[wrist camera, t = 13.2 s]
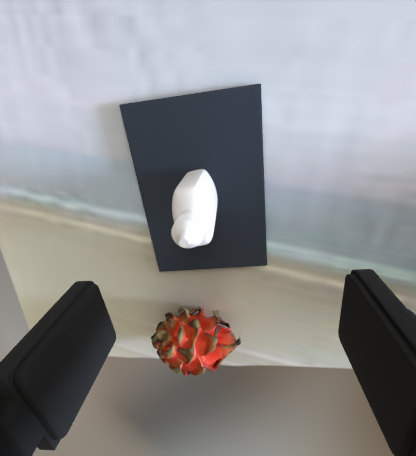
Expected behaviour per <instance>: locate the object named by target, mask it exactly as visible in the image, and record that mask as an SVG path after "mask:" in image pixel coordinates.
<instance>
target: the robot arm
mask: <svg viewBox="0 0 416 456" xmlns="http://www.w3.org/2000/svg"><path fill="white" fill-rule="evenodd" d="M338 333H339V338H340V341H341V344H342V346H343V348H344V350H345V352H346V355H347V357H348V359H349V361H350V363H351V365H352V368H353V370H354V372H355V374H356V376H357V378H358V381H359V382H360V385H361V387H362V389H363V391H364V394H365V396H366V398H367V400H368V402H369V404H370V406H371V409H372V411H373V413H374V415H375V417H376V420H377V422H378V424H379V426H380V428H381V430H382V432H383V434H384V437H385V439H386V441H387V443H388V446H389V448H390V450H391V451H392V453H393V454H394V455H395V456H416V315H415V314H414V313H413V312H411V311H410V310H409V309H407V308H406V307H405V306H404V305H403V304H402V303H401V301H400V300H399V299H398V298H397V297H396V296H395V295H394V293H393V292H392V291H391V290H390V289H389V288H388V287H387V285H386V284H385V283H384V282H383V281H382V280H381V279H380V277H379V276H378V275H377V274H376V273H375V272H374V271H373V270H372V269H362V270H352V271H351V274H347V275H346V278H345V285H344V292H343V300H342V307H341V315H340V322H339V330H338ZM115 339H116V333H115V330H114V327H113V324H112V322H111V319H110V317H109V314H108V311H107V309H106V306H105V303H104V301H103V298H102V295H101V293H100V290H99V287H98V286H97V285H96V284H94V282H92V281H78V282H75V283H74V284H73V285H72V286H71V287H70V288H69V289H68V290H67V292H66V293H65V294H64V295H63V296H62V297H61V298H60V299H59V300H58V301H57V302H56V303H55V304H54V305H53V307H52V308H51V309H50V310H49V311H48V312H47V313H46V314H45V315H44V316H43V317H42V318H41V319H40V320H39V321H38V323H37V324H36V325H35V326H34V327H33V328H32V329H31V330H30V331H29V332H28V333H27V334H26V336H24V338H23V339H22V340H21V341H20V342H19V343H18V344H17V345H16V346H15V347H14V348H13V349H12V351H10V353H9V354H8V355H7V356H6V357H5V358H4V359H3V360H2V361H1V362H0V456H32V454H33V453H34V451H35V449H36V448H37V447H38V448H39V449H41V450H55V449H56V447H57V445H58V443H59V442H60V440H61V439H62V438H63V437H64V436H65V435H66V434H67V432H68V431H69V429H70V427H71V425H72V423H73V421H74V420H75V418H76V415H77V414H78V412H79V410H80V408H81V406H82V404H83V402H84V400H85V398H86V396H87V394H88V393H89V391H90V389H91V387H92V385H93V383H94V381H95V379H96V377H97V375H98V373H99V371H100V369H101V368H102V366H103V364H104V362H105V360H106V358H107V356H108V354H109V352H110V350H111V348H112V347H113V345H114V343H115Z"/></svg>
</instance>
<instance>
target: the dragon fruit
mask: <svg viewBox="0 0 416 456" xmlns="http://www.w3.org/2000/svg"><path fill="white" fill-rule="evenodd" d="M181 310H184V312H183V313H181V315H180V317H177V316H176V315H175V314H173V313H167V314H165V316H166V321H163V322H160V323H159V324H158V326H157V328H156V333H155V334H154V335H153V336H152V337H151V339H152V344H153V347H154V348H155V349H158V350H157V354H158V355H159V357H160V359H161V360H162V361H163V362H164V363H167V362H168V363H169V367H170V368H171V369H172V370H173V371H175V372H176V373H181V372H183V374H184V375H188V374H190V373H191V374H193V375H200V374H203V373H204V372H205V370H207V371H215V370H216V369H217V368H218V366H219V365H220V363H221V362H222V361H223V359H224V358H226V357H227V355H228V354H229V353H231V352H232V351H233V350H234V349H235V348H236V347H237V346H238V345H239V344H240V343H241V339H240V338H238V340H237V341H236V339H235V336H234V334H232V333H231V331H232V329H231V327H230V325H229V324H228V323H225V322H224V321H222V320H221V317H220V316H219V313H218V312H219V311H212V312H213V314H214V316H212V317H210V318H205V317H204V314H203V313H204V310H203V308H200V307H198V308H194V309H192V311H191V312H189V311H188V309H186V308H184V307H181V308H180V309H179V312H180V311H181ZM196 311H199V312H198V313H197V314H195V315H192V314H193V313H195V312H196ZM219 321H221V322H219ZM218 322H219V323H220V324H222V325H225V326H227V327H228V328H224V327H221V326H219V325H218ZM239 337H240V336H239Z"/></svg>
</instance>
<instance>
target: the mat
mask: <svg viewBox="0 0 416 456" xmlns="http://www.w3.org/2000/svg"><path fill="white" fill-rule="evenodd" d="M120 109H121V113H122V118H123V122H124V126H125V130H126V134H127V138H128V142H129V147H130V151H131V155H132V159H133V163H134V167H135V171H136V176H137V180H138V184H139V188H140V192H141V196H142V201H143V205H144V209H145V213H146V217H147V221H148V225H149V230H150V234H151V238H152V242H153V246H154V250H155V254H156V259H157V263H158V267H159V271H160V272H161V271H177V270H194V269H211V268H227V267H244V266H260V265H267V254H266V224H265V194H264V165H263V135H262V105H261V84H255V85H249V86H242V87H235V88H229V89H222V90H215V91H209V92H202V93H195V94H189V95H182V96H175V97H169V98H162V99H155V100H149V101H142V102H135V103H129V104H122V105H120ZM199 169H204V170H206V171H207V172H208V174H209V175H210V177H211V178H212V180H213V182H214V185H215V188H216V192H217V200H218V202H217V212H216V220H215V227H214V233H213V237H212V240H211V241H210V243H208V244H206V245H202V246H196V247H193V248H183V247H180V246H179V245H177V244H176V243H175V242H174V240H173V239H172V236H171V229H172V227H173V225H174V220H173V214H172V200H173V194H174V191H175V189H176V188H177V186H178V185H179V183H180V182H181V181H182V179H183V178H184V176H185V175H186V174H187V173H188V172H190V171H194V170H199Z"/></svg>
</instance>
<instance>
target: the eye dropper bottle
mask: <svg viewBox="0 0 416 456" xmlns="http://www.w3.org/2000/svg"><path fill="white" fill-rule="evenodd" d="M217 202H218V200H217V192H216V188H215V185H214V182H213V180H212V178H211V177H210V175H209V174H208V172H207V171H206V170H204V169H199V170H194V171H190V172H188V173H187V174H186V175H185V176H184V178H183V179H182V181H181V182H180V183H179V185H178V186H177V188H176V189H175V191H174V194H173V200H172V214H173V220H174V225H173V227H172V229H171V236H172V239H173V240H174V242H175V243H176V244H177V245H179V246H180V247H183V248H193V247H196V246H202V245H206V244H208V243H210V241H211V240H212V237H213V233H214V227H215V220H216V212H217Z"/></svg>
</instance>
